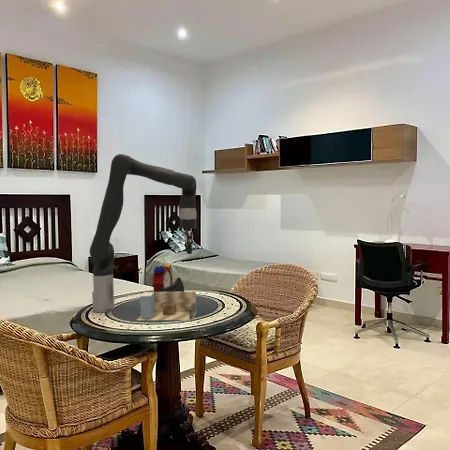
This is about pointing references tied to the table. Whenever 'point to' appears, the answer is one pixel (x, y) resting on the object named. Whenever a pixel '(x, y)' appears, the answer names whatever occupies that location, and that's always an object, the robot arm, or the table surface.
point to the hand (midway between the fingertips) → (188, 252)
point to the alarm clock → (161, 277)
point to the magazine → (174, 287)
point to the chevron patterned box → (173, 306)
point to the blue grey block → (147, 305)
